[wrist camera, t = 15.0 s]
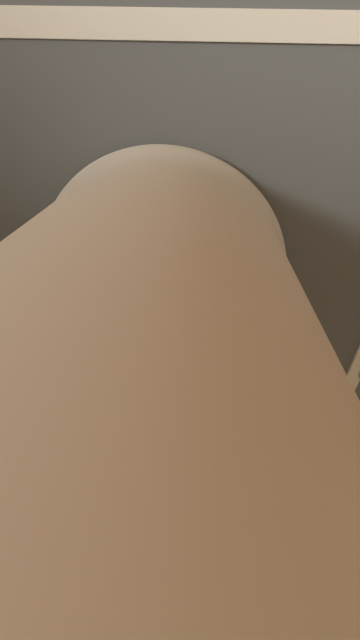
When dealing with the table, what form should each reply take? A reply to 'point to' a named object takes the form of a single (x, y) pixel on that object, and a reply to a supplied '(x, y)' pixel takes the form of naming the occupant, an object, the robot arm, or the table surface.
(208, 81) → the print mat
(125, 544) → the mug
